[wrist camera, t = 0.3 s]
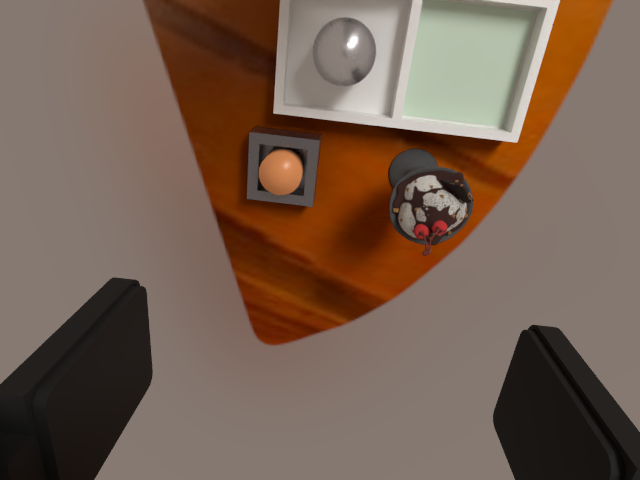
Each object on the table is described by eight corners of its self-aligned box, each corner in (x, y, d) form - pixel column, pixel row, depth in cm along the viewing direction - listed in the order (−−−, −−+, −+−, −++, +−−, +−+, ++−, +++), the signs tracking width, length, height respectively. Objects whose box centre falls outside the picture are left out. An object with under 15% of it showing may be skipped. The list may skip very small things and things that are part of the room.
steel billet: (319, 17, 38) (316, 13, 33) (377, 23, 37) (381, 21, 33) (314, 78, 40) (309, 82, 35) (368, 84, 40) (370, 89, 35)
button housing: (255, 126, 43) (249, 131, 40) (321, 134, 43) (319, 140, 40) (252, 189, 46) (246, 198, 43) (314, 197, 45) (312, 206, 43)
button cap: (264, 145, 41) (259, 150, 39) (305, 150, 41) (303, 156, 39) (262, 185, 43) (257, 192, 41) (301, 189, 43) (299, 197, 41)
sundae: (382, 207, 45) (396, 277, 32) (378, 143, 43) (393, 190, 29) (446, 201, 45) (489, 270, 31) (446, 136, 42) (493, 181, 28)
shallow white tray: (286, -30, 37) (282, -35, 35) (546, 0, 37) (560, -3, 34) (277, 109, 42) (273, 113, 39) (507, 136, 42) (517, 142, 39)
